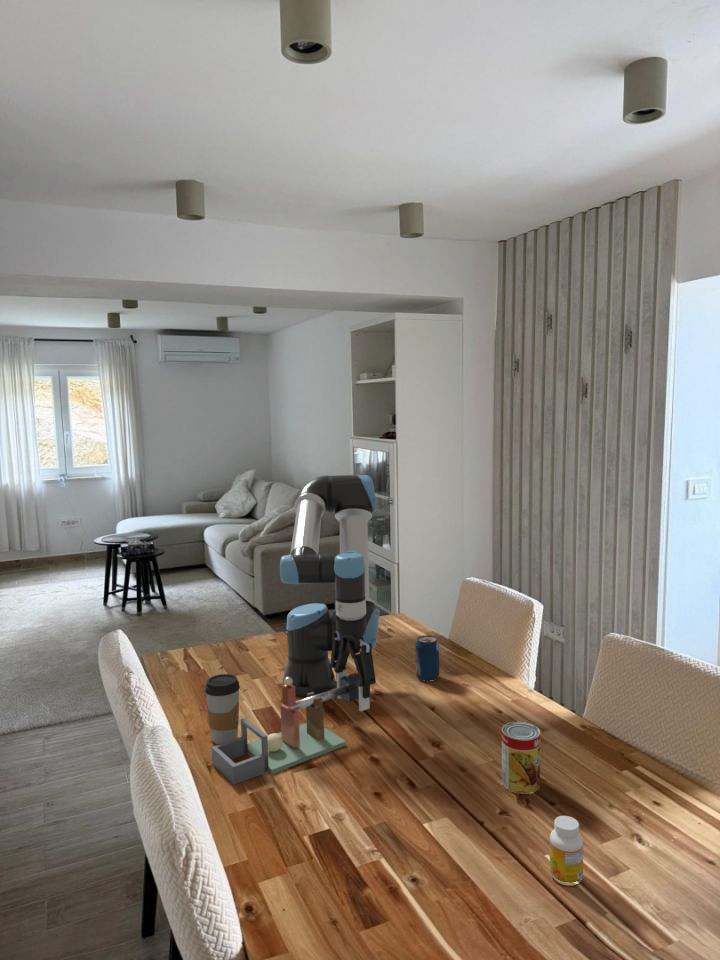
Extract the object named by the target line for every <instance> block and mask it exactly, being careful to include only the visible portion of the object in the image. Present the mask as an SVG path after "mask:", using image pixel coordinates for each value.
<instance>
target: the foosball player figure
mask: <svg viewBox="0 0 720 960" xmlns="http://www.w3.org/2000/svg"><path fill="white" fill-rule="evenodd" d="M314 695H315V694H314V692H310V693H307V694H306V696H305V697H306V698H308V697H311V696H314ZM305 713H306V714H305V715H306V717H305V718H306V719H305V721H306V723H307V733H308V734H309V735H311V736H312V737H314V738H315V739H317V740H321V739H324V727H325V716H324V715H325V714H324V713H325V712H324V707H323V702H322V697H321V696H320V697H317V698H314V705H311V706H308V707H305Z"/></svg>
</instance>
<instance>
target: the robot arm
mask: <svg viewBox="0 0 720 960" xmlns="http://www.w3.org/2000/svg"><path fill="white" fill-rule="evenodd" d="M293 509H294V513H295V520H294V527H293V534H292V538H291V539H292V540H291V547H290V552H289V553H290V554H289V553H288V554H286V555H282V556H281V558H280V559H279V561H280V563H279V576H280V580H281V582H282V583H284V584H289V585H291V584H292V585H307V584H308V585H311V584H334V593H335V603H334V609H328V606H327V605H326V604H325V603H319V602H317V603H315V602H314V603H308V604H303V605H299V606H297V607H295V608H292V610H290V612H288V614H287V616H286V630H287V631H286V634H287V659H288V660H287V664H286V667H285V671H284V675H283V677H282V685H285V684H284V679H285V678H286V677H291V678H292V679H293V684H292V685H293V686H295V696H297V697H307V696H306V694H307V693H310V692H314V694H315V695H317V694H320V693H323V692H326V691H330V690H333V689H335V686H336V688H339V687H340V678H341V677H344V676H347V675H348V672H347V667H346V665H347V663H348V660H349V657H351V659H352V660H353V662H354V664H355V665H354V666H355V668H356V673H357V674H358V676H359V679H360V683H361V684H360V685H358V686H359V699H358V711H359V712H364V711H366V710H369V709H370V708H371V707H370V704H371V703H370V697H371V685H374V684H376V683H377V679H376V673H375V668H374V667H375V666H374V659H373V652H372V651H373V650H374V649H375V648H376V646H377V643H378V634H379V633H378V632H379V622H380V612H381V611H380V608H375V607H376V605H375V602H374V601H373V600H372V599H371V598H370V576H369V574H370V573H369V571H370V570H369V538H368V537H369V536H368V535H369V533H368V532H369V530H368V527H369V525H368V522H369V521H370V520H371V519H372V517H373V513H375V512H377V500H376V492H375V486H374V481H373V478H372V477H371V476H370V475H368V474H367V475H366V474H358V473H356V474H347V475H346V474H345V475H344V474H343V475H342V474H341V475H340V474H339V475H337V474H336V475H321V476H317V477H315V478H313V479H310V480H309V481H308V482H306V484H304V485H303V486H302V487H301V488H300V490H299V491H298V493H297V494H296V496H295V499H294V504H293ZM325 513H333V514H334V518H335V520H337V521H338V523H339V553H331V554H328V553H327V554H326V553H325V554H322V553H321V554H319V548H320V536H321V525H322V517H323V516H324V515H325ZM329 652H331V657H330V659H329ZM333 669H334V670H333ZM334 672H335V673H334ZM364 679H365V680H364ZM336 698H337V699H342V698H341V697H340V696H338V697H336Z"/></svg>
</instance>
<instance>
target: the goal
mask: <svg viewBox="0 0 720 960" xmlns="http://www.w3.org/2000/svg"><path fill="white" fill-rule="evenodd" d="M248 730H250V731H251V732H252V733H253V734H255V735H256V736H257V737H258V738H260V739H261V742H262V754H260V755H258V756H255V757H249V758H247V759H245V760H242V761H239V762H236V763H235V762H234V761H233V760H234V759H237V758H239V757H243V756H245V755H247V754H248ZM240 735H241V736H240V737H237V739H234V740H231V741H228V742H225V743H222V744H216V745H214V746H211V763H212V765H213V766H214V767H215V769H217V770H218V771H219V772H220V773H221V774H222V775H224V777H226V779H227V780H229V781H230V783H231V784H233V786H234V785H237V784H240V783H243V782H245V781H248V780H249V779H253V778H255V777H257V776H260V775H263V774H266V773H268V772H269V763H268V738H267V737H268V735H267V734H266V733H264V732H263V731H262V730H261V729H259V728H258V727H257V726H255V724H253V723H251V722H250V721H249V720H248V719H246V718H245V717H244V718H241V719H240ZM248 755H249V754H248Z"/></svg>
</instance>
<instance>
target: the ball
mask: <svg viewBox="0 0 720 960" xmlns="http://www.w3.org/2000/svg"><path fill="white" fill-rule="evenodd" d="M267 738H268V750H269V751H271V752H276V751H278V750H279V749H280V748H281V746H282V738H281V736H280V735H278V734H276V733H270V734H269V735H267Z"/></svg>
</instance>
